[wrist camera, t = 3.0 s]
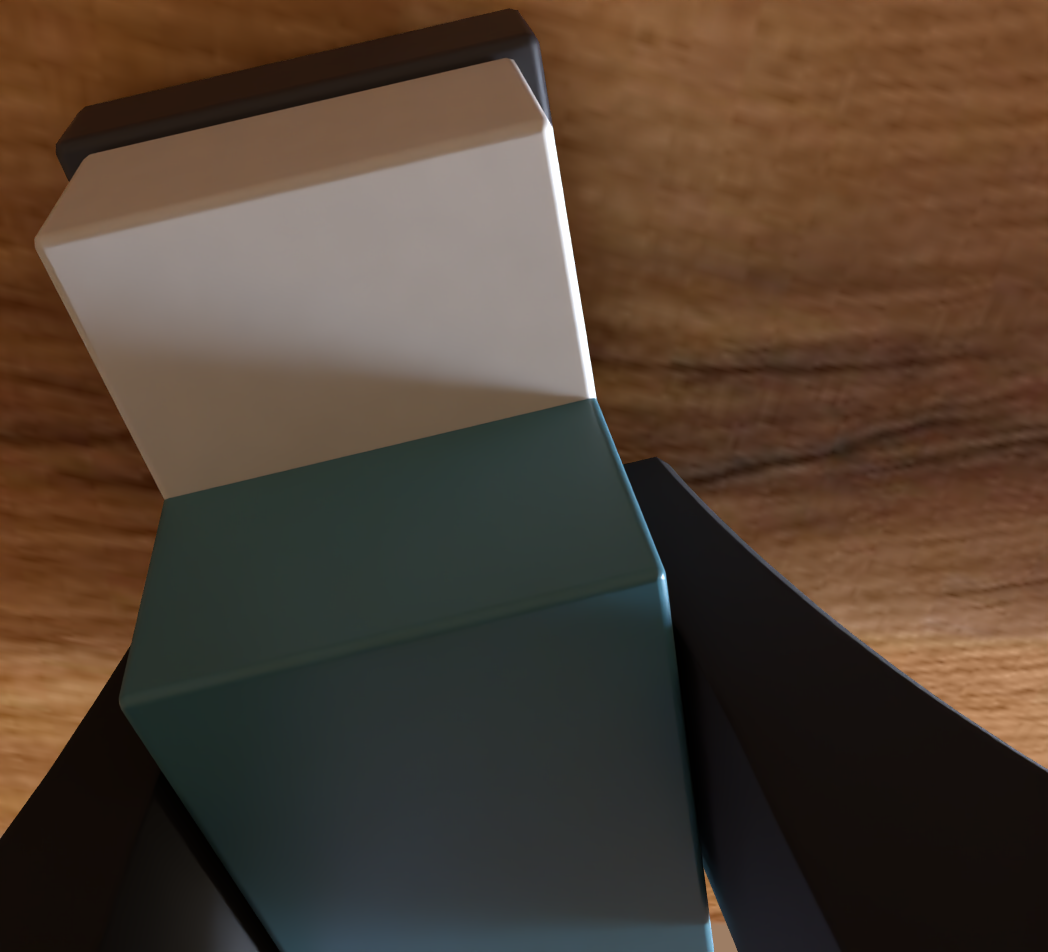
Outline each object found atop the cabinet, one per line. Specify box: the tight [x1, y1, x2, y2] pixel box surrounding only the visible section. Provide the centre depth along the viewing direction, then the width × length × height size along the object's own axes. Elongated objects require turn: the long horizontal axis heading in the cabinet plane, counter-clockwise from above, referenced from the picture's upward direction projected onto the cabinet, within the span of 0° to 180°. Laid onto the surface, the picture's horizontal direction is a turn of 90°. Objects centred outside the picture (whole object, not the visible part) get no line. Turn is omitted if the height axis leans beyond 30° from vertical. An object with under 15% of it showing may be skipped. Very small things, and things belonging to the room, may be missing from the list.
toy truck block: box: [34, 9, 714, 952], centre depth 8 cm, size 7×4×4 cm, turn 10°
